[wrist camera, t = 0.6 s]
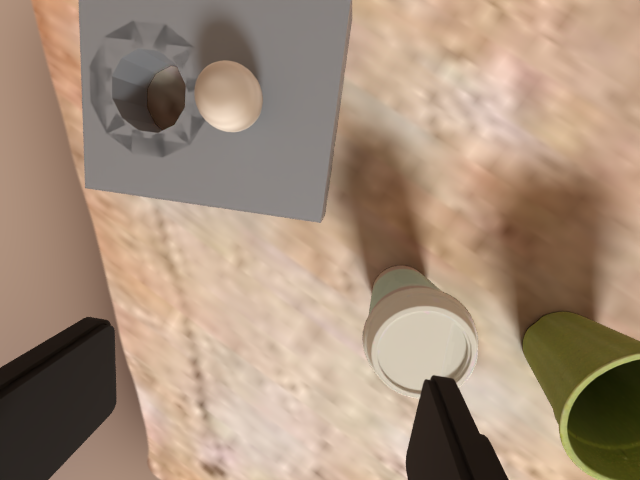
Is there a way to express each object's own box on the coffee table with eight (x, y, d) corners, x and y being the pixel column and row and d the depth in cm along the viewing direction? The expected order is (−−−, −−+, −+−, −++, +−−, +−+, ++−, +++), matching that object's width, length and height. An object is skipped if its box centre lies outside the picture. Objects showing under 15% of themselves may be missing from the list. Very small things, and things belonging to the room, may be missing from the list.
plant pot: (479, 319, 35) (537, 389, 24) (595, 271, 33) (715, 324, 22) (522, 407, 37) (593, 509, 26) (634, 367, 35) (763, 460, 24)
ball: (212, 67, 27) (182, 46, 22) (272, 74, 27) (255, 55, 22) (209, 130, 28) (180, 124, 24) (266, 138, 28) (248, 133, 23)
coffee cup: (404, 342, 37) (429, 426, 25) (343, 296, 36) (339, 359, 24) (459, 285, 35) (513, 348, 23) (395, 235, 34) (417, 273, 22)
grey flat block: (119, -8, 31) (77, -39, 26) (352, 18, 30) (352, -10, 25) (121, 184, 36) (85, 188, 31) (325, 214, 34) (320, 222, 29)
